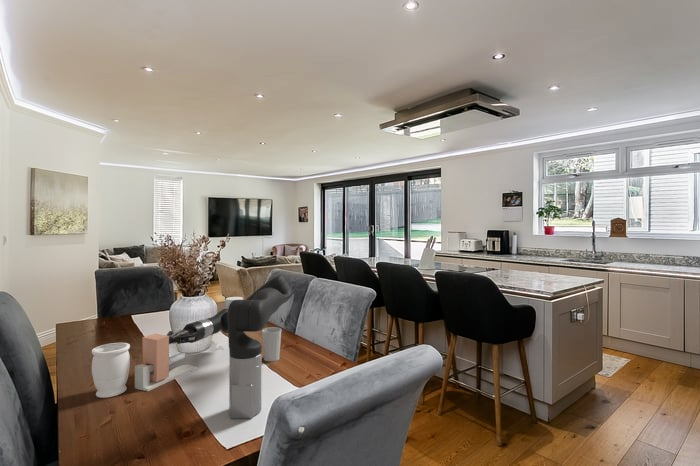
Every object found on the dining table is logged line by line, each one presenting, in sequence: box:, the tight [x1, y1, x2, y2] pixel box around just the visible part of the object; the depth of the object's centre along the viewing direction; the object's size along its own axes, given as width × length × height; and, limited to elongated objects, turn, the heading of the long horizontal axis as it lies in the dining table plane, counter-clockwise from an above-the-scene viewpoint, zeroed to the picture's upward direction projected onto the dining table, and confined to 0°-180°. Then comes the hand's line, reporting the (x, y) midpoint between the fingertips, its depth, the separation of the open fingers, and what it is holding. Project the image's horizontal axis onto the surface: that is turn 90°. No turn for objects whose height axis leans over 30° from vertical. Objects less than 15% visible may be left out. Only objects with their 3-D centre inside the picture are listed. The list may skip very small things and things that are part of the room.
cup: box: [261, 326, 282, 362], centre depth 153 cm, size 8×8×12 cm
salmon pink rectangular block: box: [142, 333, 170, 382], centre depth 130 cm, size 5×7×14 cm
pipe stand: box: [134, 351, 197, 392], centre depth 133 cm, size 21×6×8 cm, turn 158°
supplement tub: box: [224, 296, 244, 309], centre depth 204 cm, size 10×10×15 cm
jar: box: [91, 342, 131, 399], centre depth 121 cm, size 11×10×15 cm
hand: (161, 343), depth 132 cm, fingers closed
